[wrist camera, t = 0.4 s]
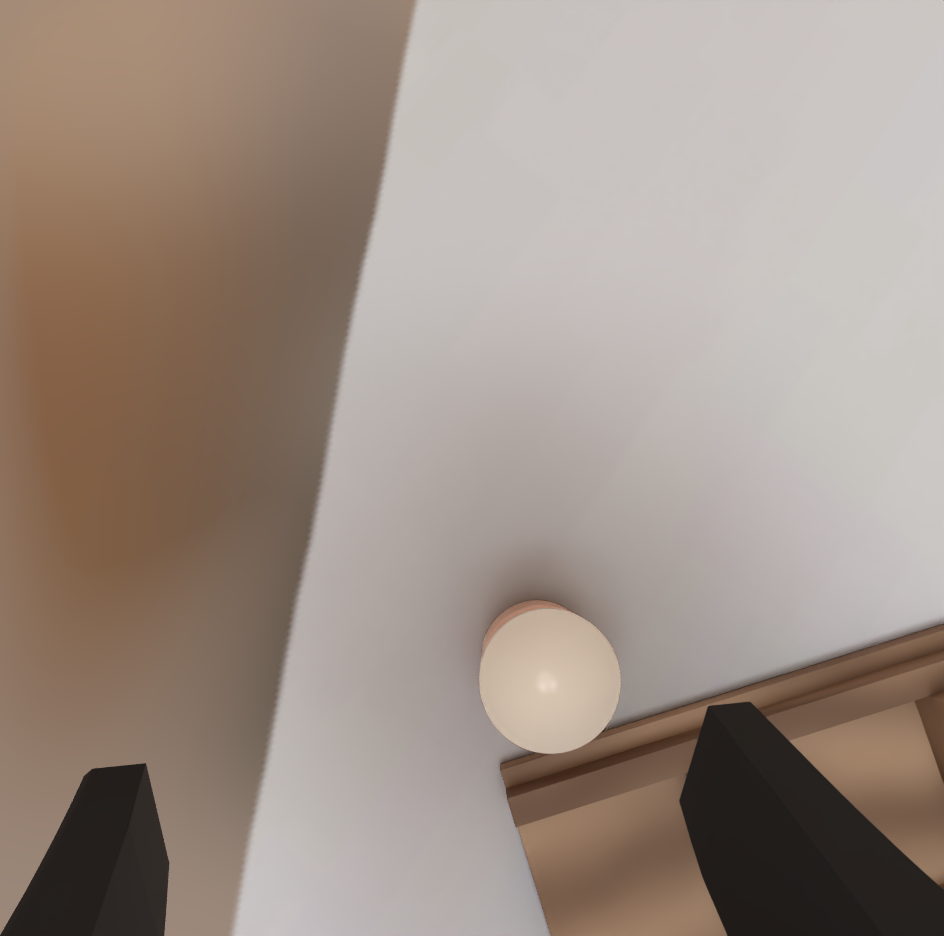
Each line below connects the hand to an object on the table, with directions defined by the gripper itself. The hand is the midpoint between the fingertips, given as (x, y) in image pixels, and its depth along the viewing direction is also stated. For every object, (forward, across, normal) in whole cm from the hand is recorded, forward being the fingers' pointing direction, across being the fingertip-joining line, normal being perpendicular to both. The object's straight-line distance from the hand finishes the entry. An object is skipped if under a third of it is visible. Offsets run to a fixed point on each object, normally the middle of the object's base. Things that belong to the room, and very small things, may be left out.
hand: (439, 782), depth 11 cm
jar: (+20, -8, +18) cm, 28 cm away
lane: (+13, -17, +24) cm, 32 cm away
